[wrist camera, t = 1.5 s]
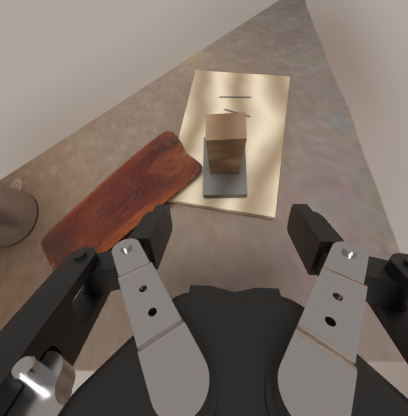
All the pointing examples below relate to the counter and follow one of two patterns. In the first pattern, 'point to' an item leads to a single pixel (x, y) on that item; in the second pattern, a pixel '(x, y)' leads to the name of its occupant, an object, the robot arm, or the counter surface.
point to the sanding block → (225, 156)
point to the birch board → (256, 136)
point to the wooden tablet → (123, 199)
